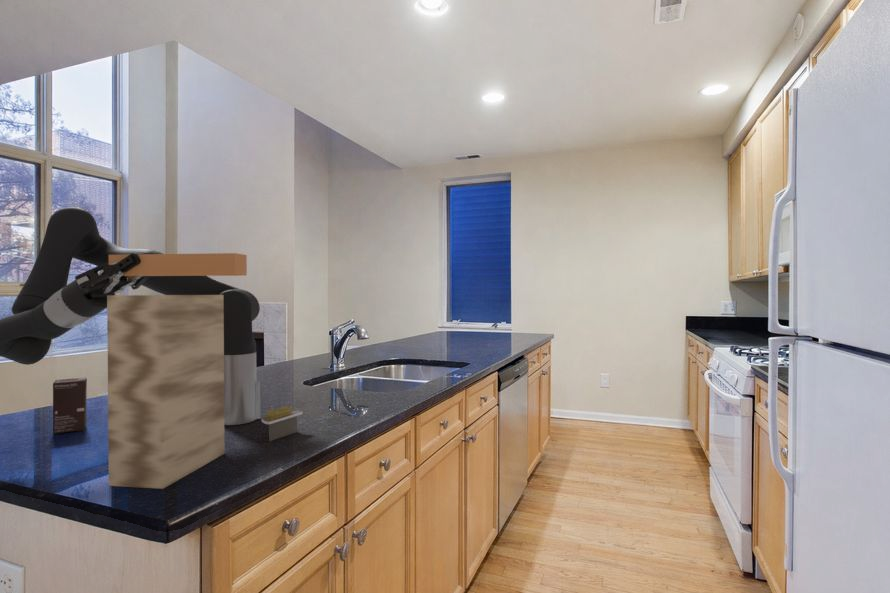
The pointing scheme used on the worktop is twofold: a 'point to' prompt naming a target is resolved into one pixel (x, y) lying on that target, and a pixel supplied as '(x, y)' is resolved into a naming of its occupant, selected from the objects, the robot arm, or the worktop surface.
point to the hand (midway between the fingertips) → (146, 258)
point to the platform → (281, 422)
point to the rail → (187, 264)
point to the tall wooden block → (164, 387)
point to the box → (69, 405)
